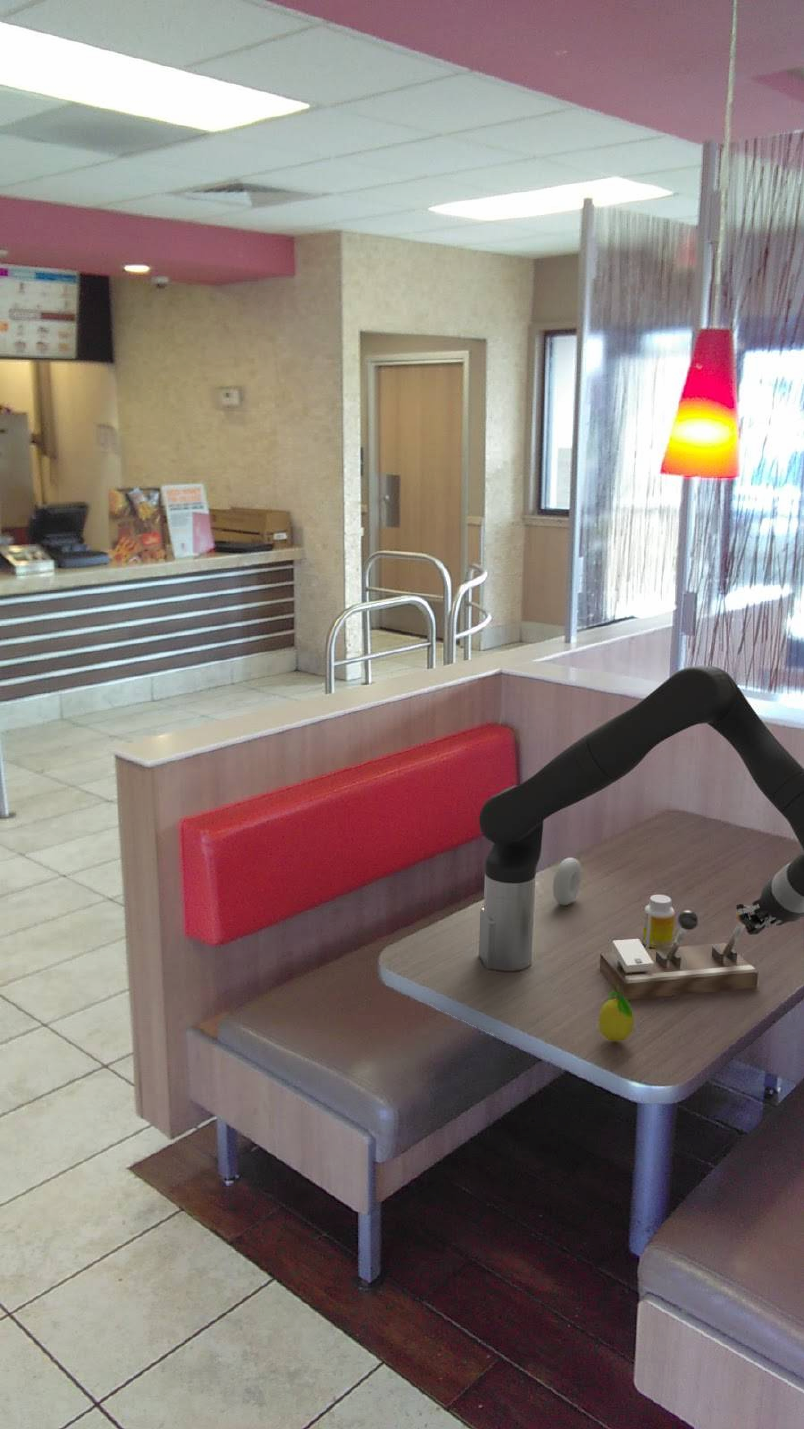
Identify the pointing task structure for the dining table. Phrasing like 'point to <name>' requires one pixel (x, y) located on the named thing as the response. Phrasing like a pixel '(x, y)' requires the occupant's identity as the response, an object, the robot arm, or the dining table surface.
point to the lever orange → (734, 937)
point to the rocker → (632, 955)
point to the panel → (682, 972)
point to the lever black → (682, 930)
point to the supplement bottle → (658, 923)
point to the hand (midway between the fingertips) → (750, 929)
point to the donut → (567, 881)
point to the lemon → (616, 1018)
